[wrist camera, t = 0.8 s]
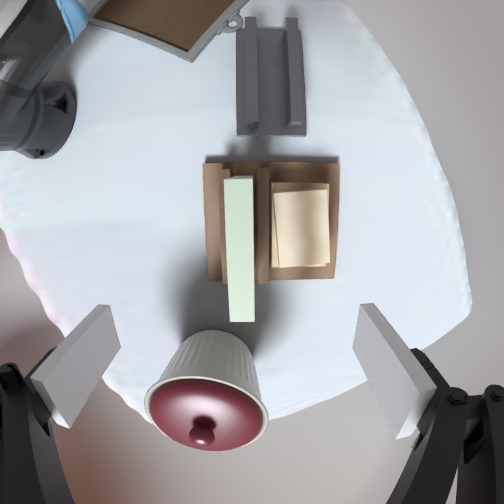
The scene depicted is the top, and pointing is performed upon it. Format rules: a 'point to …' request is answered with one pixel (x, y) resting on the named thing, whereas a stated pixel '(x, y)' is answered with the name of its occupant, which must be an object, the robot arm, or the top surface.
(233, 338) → the canister
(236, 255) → the panel
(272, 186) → the offcut lower
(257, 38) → the stand
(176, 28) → the grey brown flat board
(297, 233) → the offcut upper
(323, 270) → the rack
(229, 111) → the top surface
